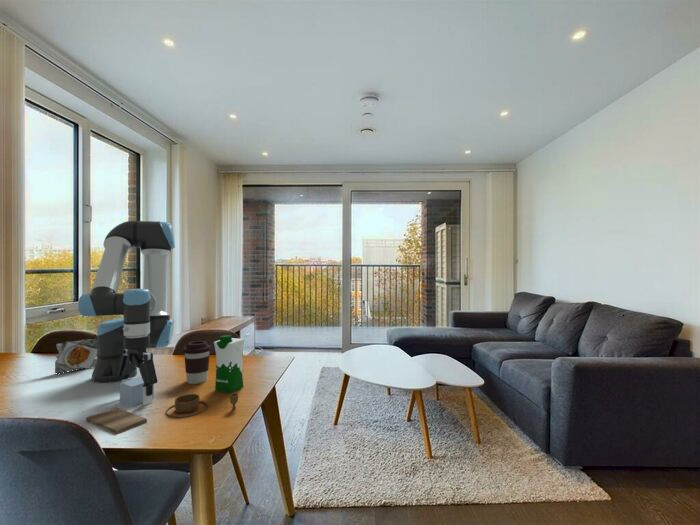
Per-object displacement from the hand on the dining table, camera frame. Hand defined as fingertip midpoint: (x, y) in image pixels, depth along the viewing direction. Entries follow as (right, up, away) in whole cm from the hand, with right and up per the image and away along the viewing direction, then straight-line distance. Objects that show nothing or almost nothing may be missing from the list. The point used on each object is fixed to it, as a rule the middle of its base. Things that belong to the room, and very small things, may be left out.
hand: (136, 401), depth 115 cm
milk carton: (+27, 0, +12) cm, 29 cm away
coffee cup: (+11, 0, +20) cm, 23 cm away
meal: (-45, 0, +33) cm, 55 cm away
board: (+4, 0, -16) cm, 16 cm away
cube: (0, 0, 0) cm, 0 cm away
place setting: (+24, -1, -9) cm, 25 cm away
